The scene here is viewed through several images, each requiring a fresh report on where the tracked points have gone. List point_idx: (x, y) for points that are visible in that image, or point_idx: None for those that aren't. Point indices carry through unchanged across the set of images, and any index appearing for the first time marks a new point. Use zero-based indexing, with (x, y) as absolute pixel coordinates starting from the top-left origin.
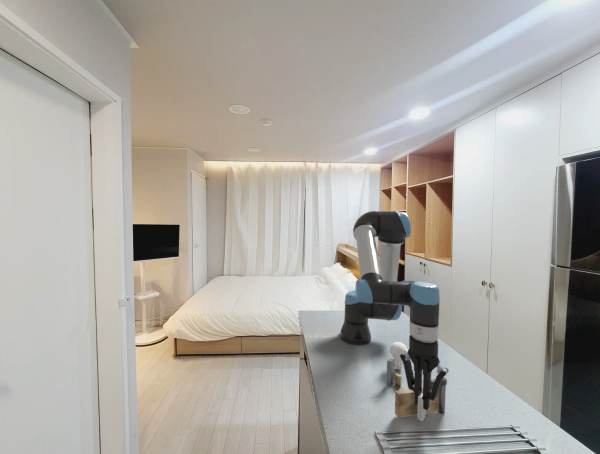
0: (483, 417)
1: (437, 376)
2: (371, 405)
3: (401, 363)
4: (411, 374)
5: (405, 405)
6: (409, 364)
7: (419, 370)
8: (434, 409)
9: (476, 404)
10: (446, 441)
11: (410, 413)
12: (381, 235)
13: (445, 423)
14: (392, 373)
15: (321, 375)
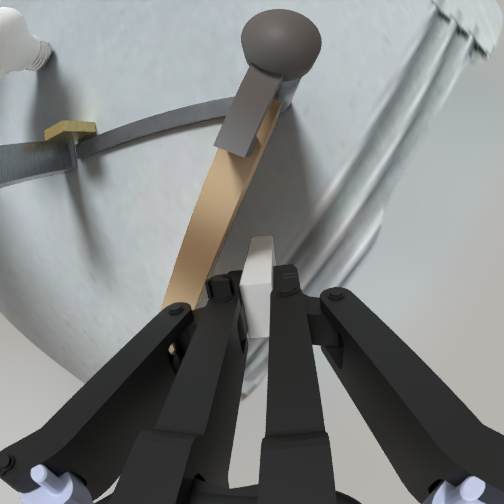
0: (381, 13)
1: (416, 489)
2: (119, 310)
3: (32, 50)
4: (150, 392)
5: (200, 299)
6: (100, 452)
7: (220, 483)
8: (267, 142)
9: None
10: (358, 242)
11: (217, 259)
12: None
13: (320, 153)
14: (38, 158)
15: (10, 314)
